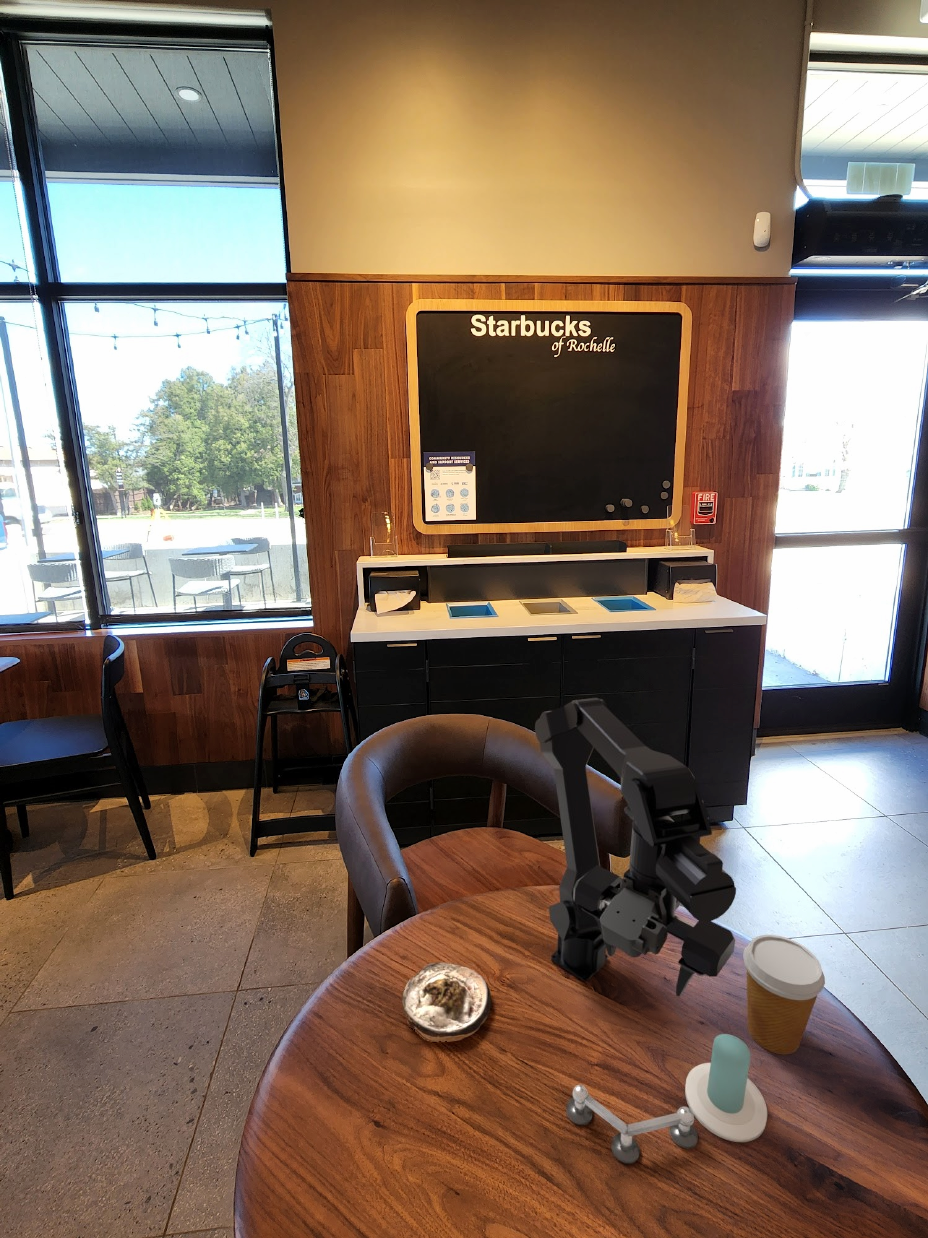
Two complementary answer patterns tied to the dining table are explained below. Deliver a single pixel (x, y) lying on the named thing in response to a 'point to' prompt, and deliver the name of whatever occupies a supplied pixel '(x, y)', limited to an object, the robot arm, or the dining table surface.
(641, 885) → the robot arm
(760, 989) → the disposable coffee cup
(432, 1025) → the sushi roll
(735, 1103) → the peg
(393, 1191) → the dining table surface
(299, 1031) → the dining table surface
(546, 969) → the dining table surface
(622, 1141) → the railing
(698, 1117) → the saucer
